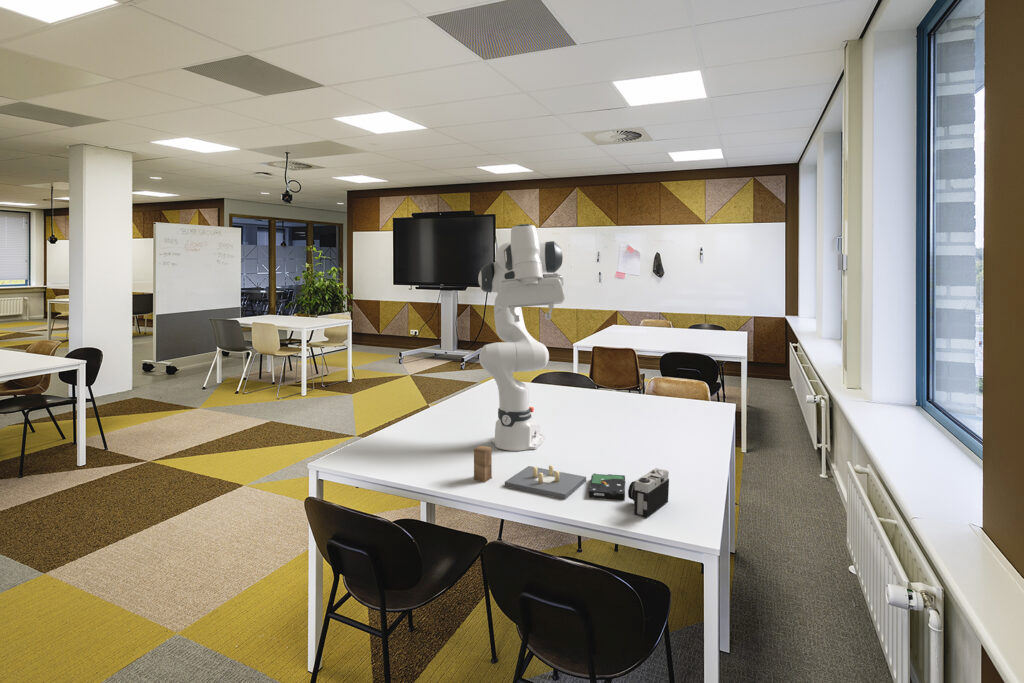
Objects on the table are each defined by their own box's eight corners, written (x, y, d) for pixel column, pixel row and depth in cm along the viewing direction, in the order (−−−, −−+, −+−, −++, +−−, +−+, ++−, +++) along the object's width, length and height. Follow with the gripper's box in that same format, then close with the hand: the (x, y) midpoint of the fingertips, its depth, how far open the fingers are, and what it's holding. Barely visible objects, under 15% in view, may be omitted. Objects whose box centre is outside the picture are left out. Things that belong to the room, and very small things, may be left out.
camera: (645, 494, 163) (647, 461, 161) (673, 505, 156) (676, 471, 155) (617, 508, 154) (619, 473, 152) (645, 520, 147) (648, 484, 145)
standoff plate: (528, 470, 183) (528, 457, 182) (586, 481, 173) (586, 467, 173) (504, 486, 169) (504, 472, 168) (565, 499, 159) (565, 484, 159)
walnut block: (480, 476, 178) (480, 445, 177) (491, 478, 176) (491, 447, 175) (474, 480, 174) (473, 449, 173) (484, 482, 172) (484, 451, 171)
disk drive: (625, 502, 159) (624, 483, 173) (625, 493, 158) (625, 474, 173) (588, 500, 161) (591, 480, 175) (588, 490, 160) (591, 472, 175)
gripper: (560, 275, 172) (565, 319, 170) (494, 280, 171) (499, 325, 169) (563, 269, 166) (569, 315, 164) (495, 275, 165) (499, 321, 162)
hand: (532, 320), depth 166 cm, fingers open, 8 cm apart
